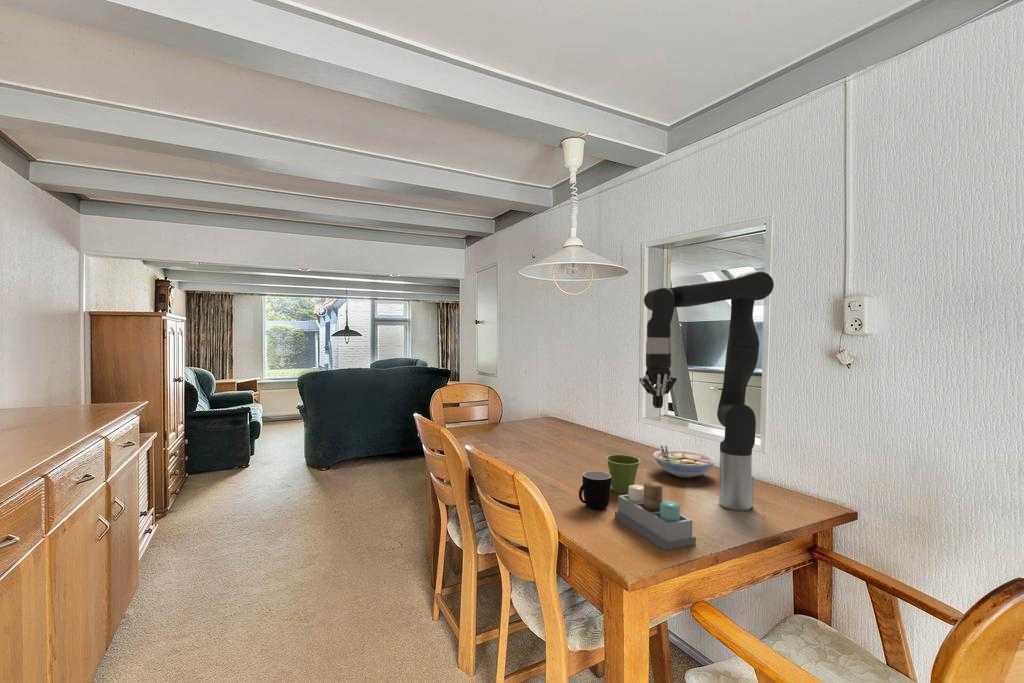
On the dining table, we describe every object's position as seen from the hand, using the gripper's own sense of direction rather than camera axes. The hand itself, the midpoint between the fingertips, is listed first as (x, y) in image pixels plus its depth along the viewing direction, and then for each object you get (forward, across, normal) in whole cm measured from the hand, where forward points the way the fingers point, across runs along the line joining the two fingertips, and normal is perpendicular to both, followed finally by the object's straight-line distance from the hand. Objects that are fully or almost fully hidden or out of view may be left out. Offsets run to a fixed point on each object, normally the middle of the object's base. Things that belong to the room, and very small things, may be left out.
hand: (657, 407), depth 141 cm
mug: (+32, +18, -8) cm, 38 cm away
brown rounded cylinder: (+26, +11, +12) cm, 31 cm away
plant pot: (+32, 0, -18) cm, 37 cm away
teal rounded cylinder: (+29, +11, +19) cm, 36 cm away
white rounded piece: (+29, +11, +5) cm, 31 cm away
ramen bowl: (+32, -33, -25) cm, 52 cm away
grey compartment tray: (+32, +11, +12) cm, 36 cm away
